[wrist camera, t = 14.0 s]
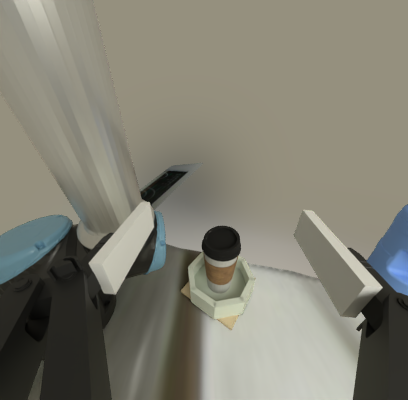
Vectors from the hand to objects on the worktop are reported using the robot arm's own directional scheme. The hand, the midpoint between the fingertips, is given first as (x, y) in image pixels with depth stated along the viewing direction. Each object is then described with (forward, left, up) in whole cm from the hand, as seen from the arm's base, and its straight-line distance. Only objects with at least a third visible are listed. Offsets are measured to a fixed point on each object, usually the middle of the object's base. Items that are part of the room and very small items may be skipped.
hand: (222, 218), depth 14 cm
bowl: (-6, +13, -31) cm, 34 cm away
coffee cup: (-7, +13, -30) cm, 33 cm away
